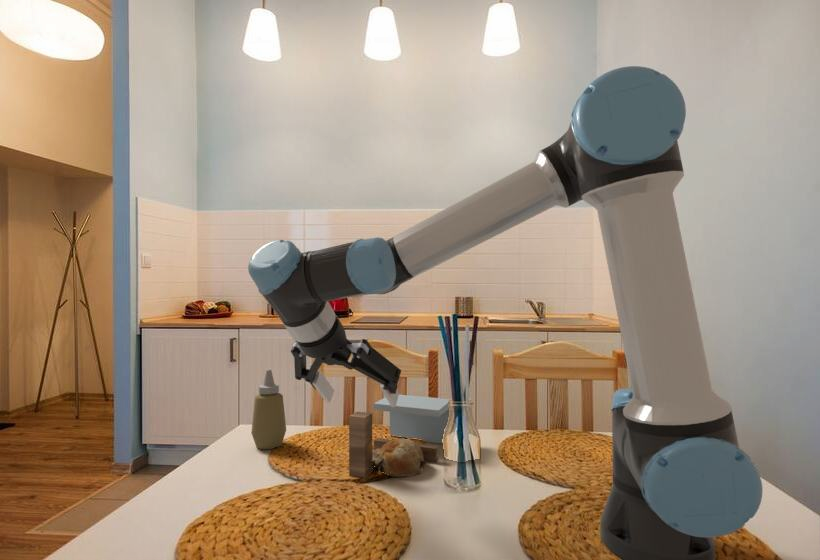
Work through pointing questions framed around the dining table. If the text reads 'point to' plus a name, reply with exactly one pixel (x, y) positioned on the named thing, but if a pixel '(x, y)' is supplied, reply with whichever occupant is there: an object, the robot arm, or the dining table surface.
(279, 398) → the squeeze bottle
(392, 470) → the bread roll
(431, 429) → the low gray box
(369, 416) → the wooden l-shaped post
